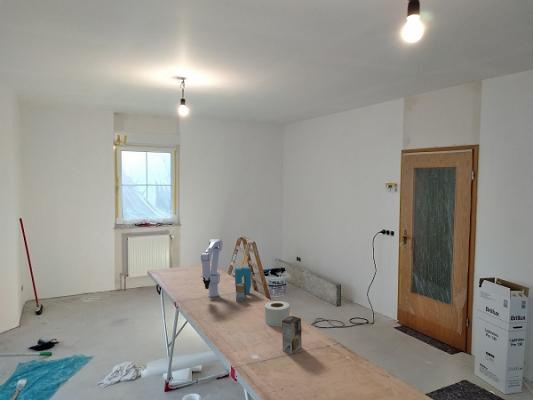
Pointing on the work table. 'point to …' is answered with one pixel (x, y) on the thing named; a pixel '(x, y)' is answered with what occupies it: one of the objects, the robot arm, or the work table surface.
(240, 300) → the tower base
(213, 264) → the robot arm
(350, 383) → the work table surface
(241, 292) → the tower middle
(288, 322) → the coffee box
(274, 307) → the roll of tape
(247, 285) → the block
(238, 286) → the walnut cube
